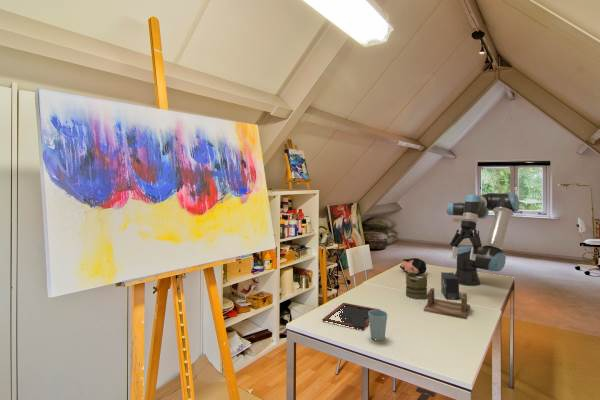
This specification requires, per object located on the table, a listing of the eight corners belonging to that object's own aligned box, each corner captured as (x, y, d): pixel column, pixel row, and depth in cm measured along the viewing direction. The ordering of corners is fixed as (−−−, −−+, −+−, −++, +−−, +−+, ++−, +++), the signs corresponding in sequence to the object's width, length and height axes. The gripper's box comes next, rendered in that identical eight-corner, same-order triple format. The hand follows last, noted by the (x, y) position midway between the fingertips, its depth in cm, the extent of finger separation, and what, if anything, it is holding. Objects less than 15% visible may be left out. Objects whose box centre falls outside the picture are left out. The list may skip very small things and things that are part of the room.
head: (394, 264, 232) (423, 268, 220) (399, 253, 240) (427, 256, 229) (397, 277, 237) (425, 281, 225) (401, 265, 246) (429, 269, 234)
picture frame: (363, 332, 142) (380, 312, 163) (363, 327, 142) (380, 308, 163) (322, 322, 152) (343, 305, 173) (322, 318, 152) (343, 302, 173)
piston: (423, 279, 177) (403, 276, 184) (423, 300, 178) (403, 297, 184) (429, 274, 187) (409, 271, 193) (429, 295, 187) (409, 291, 194)
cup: (385, 343, 130) (385, 318, 130) (366, 339, 133) (366, 314, 133) (389, 336, 137) (389, 311, 136) (371, 332, 140) (370, 308, 140)
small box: (440, 292, 193) (440, 271, 192) (453, 292, 191) (453, 272, 191) (446, 299, 180) (446, 278, 179) (459, 300, 178) (459, 278, 178)
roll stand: (431, 300, 179) (431, 285, 178) (469, 307, 168) (470, 291, 168) (423, 311, 164) (423, 294, 163) (465, 319, 153) (466, 301, 153)
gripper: (447, 220, 193) (441, 255, 189) (482, 218, 169) (475, 258, 165) (457, 224, 194) (451, 259, 191) (493, 222, 171) (486, 262, 167)
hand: (462, 259), depth 178 cm, fingers open, 13 cm apart
